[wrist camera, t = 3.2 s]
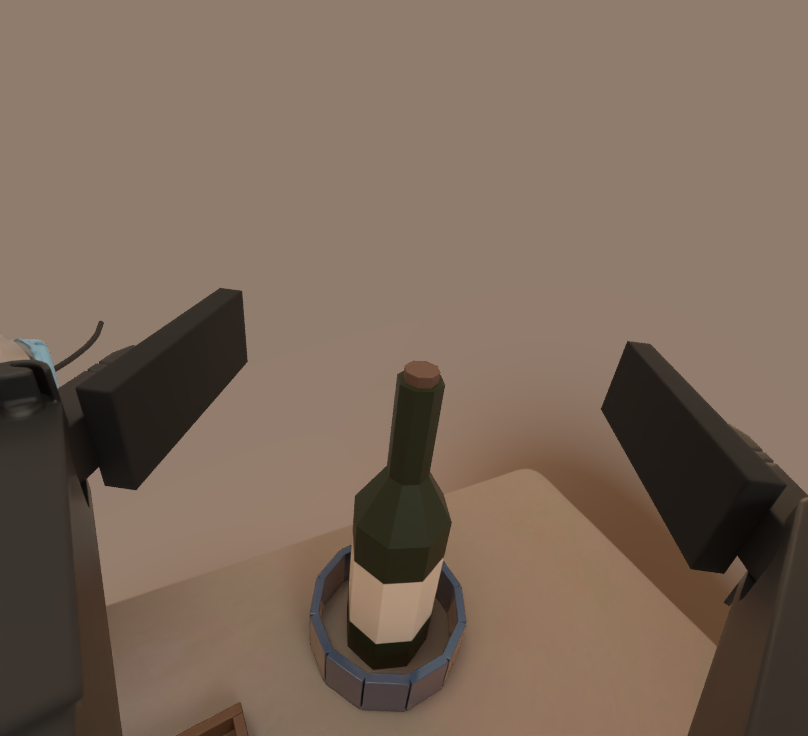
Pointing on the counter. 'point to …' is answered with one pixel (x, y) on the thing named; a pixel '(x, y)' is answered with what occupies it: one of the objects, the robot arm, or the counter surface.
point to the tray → (221, 724)
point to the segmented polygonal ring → (382, 687)
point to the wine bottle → (399, 531)
